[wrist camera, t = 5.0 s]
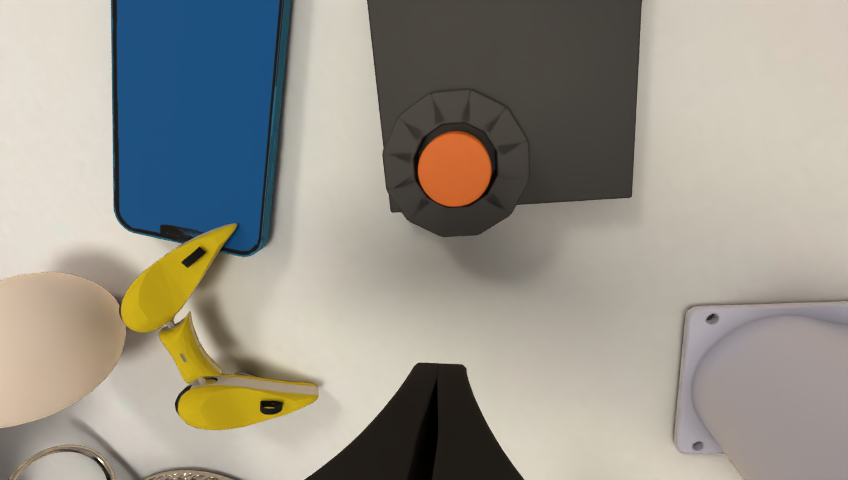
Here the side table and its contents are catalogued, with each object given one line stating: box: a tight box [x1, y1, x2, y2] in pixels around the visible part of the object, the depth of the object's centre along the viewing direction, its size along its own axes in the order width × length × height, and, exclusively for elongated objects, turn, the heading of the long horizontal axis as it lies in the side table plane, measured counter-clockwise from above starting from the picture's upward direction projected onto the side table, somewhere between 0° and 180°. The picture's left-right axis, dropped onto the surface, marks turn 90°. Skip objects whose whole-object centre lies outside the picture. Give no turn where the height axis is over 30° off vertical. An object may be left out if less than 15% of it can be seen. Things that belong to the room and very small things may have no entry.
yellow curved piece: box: [119, 223, 318, 430], centre depth 22 cm, size 10×4×10 cm
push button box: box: [367, 0, 642, 237], centre depth 17 cm, size 10×10×3 cm
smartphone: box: [111, 0, 291, 257], centre depth 19 cm, size 7×1×15 cm
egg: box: [0, 272, 126, 428], centre depth 20 cm, size 6×6×8 cm
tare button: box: [418, 131, 492, 207], centre depth 16 cm, size 3×3×2 cm
